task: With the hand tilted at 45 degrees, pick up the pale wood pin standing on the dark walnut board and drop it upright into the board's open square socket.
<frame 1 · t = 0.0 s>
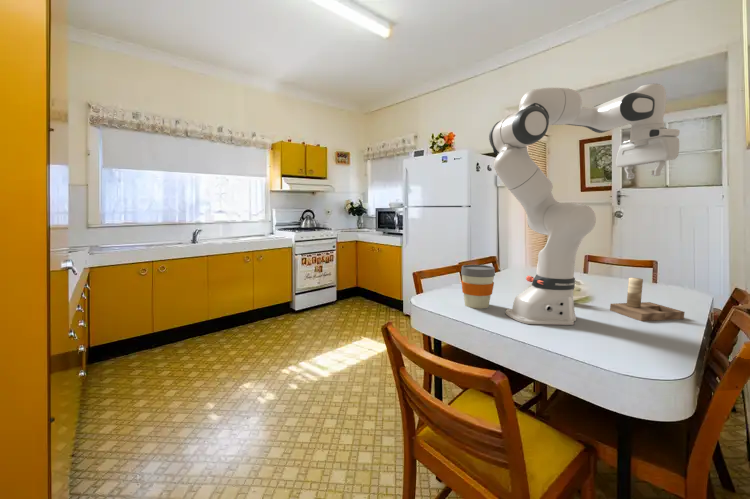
hand: (642, 177, 116), 48 cm above the table, tool pointing down, fingers open, 8 cm apart
reusable coffee cup: (476, 305, 131), on the table
pin: (633, 306, 121), point 2 cm above the table, touching pin board
pin board: (659, 315, 118), on the table
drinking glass: (544, 299, 140), on the table
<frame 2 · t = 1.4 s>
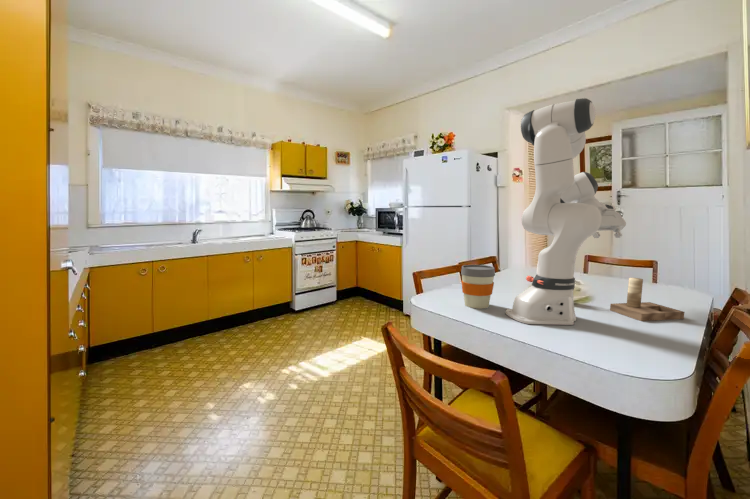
hand: (608, 236, 131), 26 cm above the table, tool tilted 45°, fingers open, 8 cm apart
nothing on the table moved.
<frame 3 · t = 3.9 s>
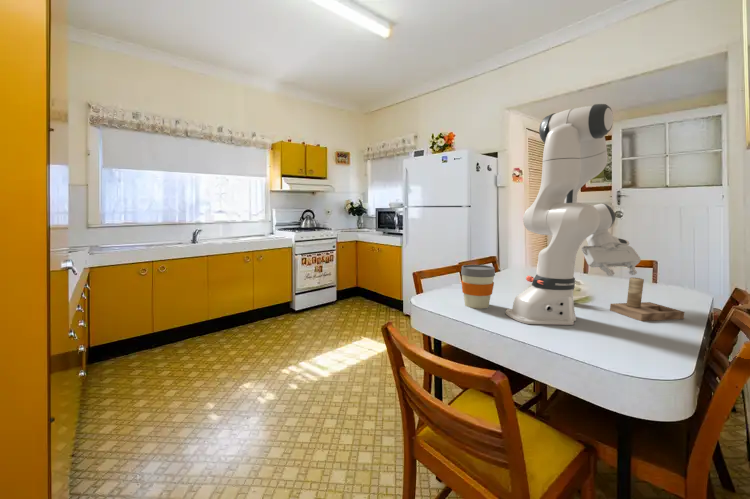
hand: (622, 274, 125), 13 cm above the table, tool tilted 45°, fingers open, 8 cm apart
nothing on the table moved.
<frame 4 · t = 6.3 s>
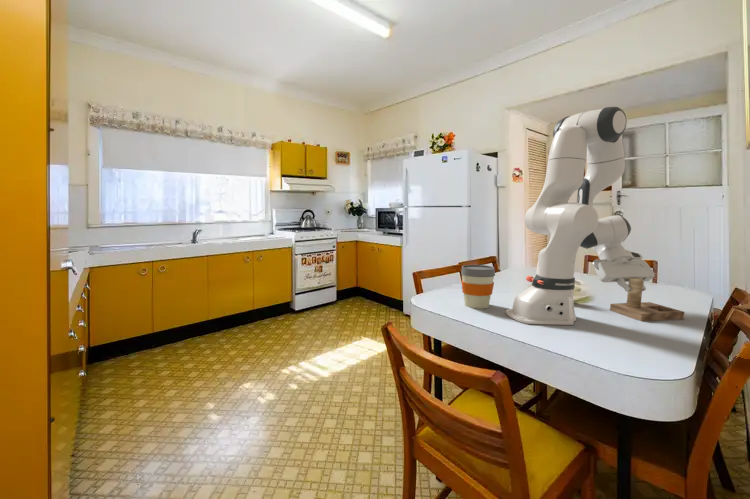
hand: (636, 290, 119), 8 cm above the table, tool tilted 45°, fingers closed on pin, 4 cm apart
pin: (633, 306, 121), point 3 cm above the table, touching gripper, pin board
everything else where it was.
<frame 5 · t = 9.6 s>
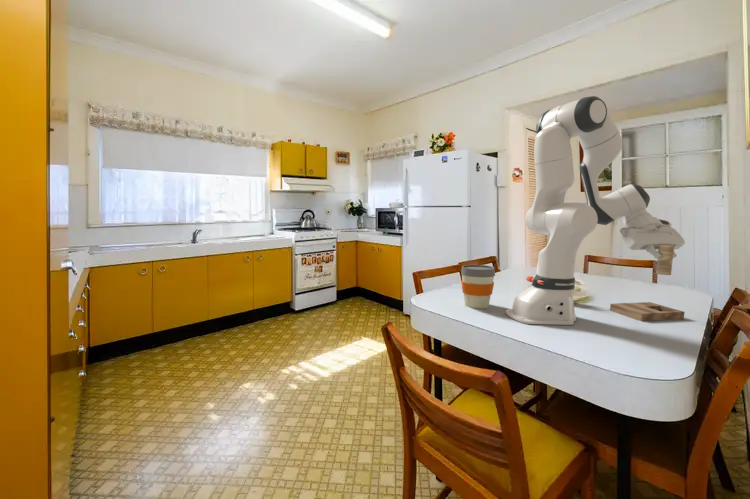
hand: (666, 257, 115), 21 cm above the table, tool tilted 45°, fingers closed on pin, 4 cm apart
pin: (663, 273, 116), point 15 cm above the table, touching gripper
everything else where it was.
when the fingers open (7 cm above the table, at t = 12.8 s): pin drops 1 cm, resting in pin board.
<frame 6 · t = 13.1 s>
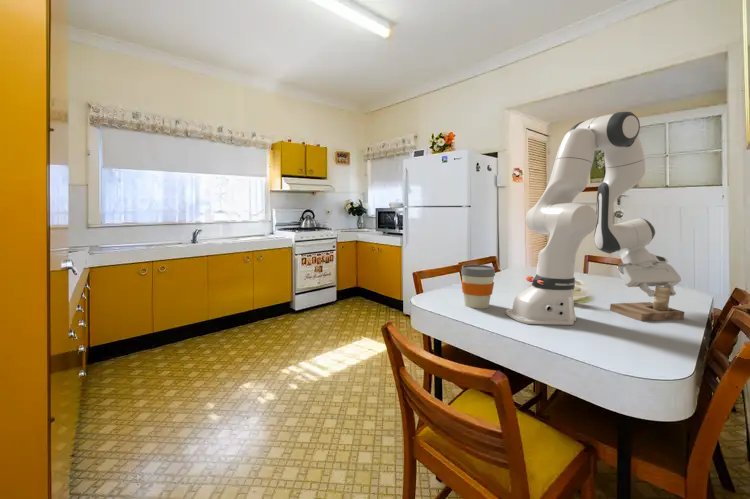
hand: (663, 295, 117), 7 cm above the table, tool tilted 45°, fingers open, 6 cm apart
pin: (659, 315, 118), resting in pin board
everything else where it was.
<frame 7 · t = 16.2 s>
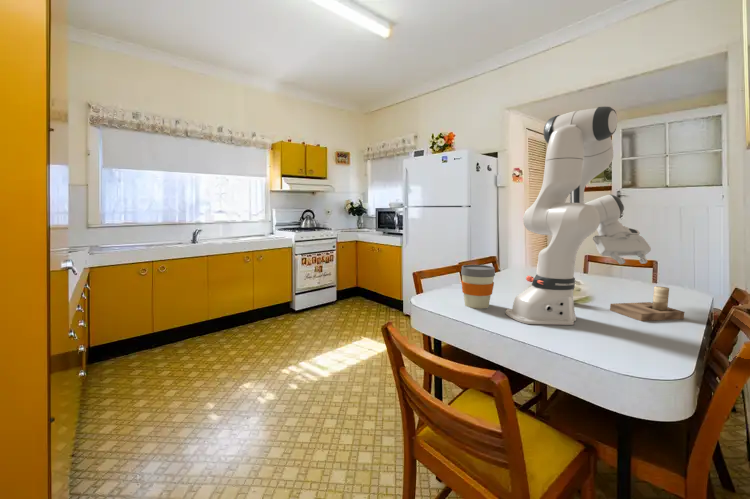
hand: (633, 263, 128), 17 cm above the table, tool tilted 45°, fingers open, 8 cm apart
nothing on the table moved.
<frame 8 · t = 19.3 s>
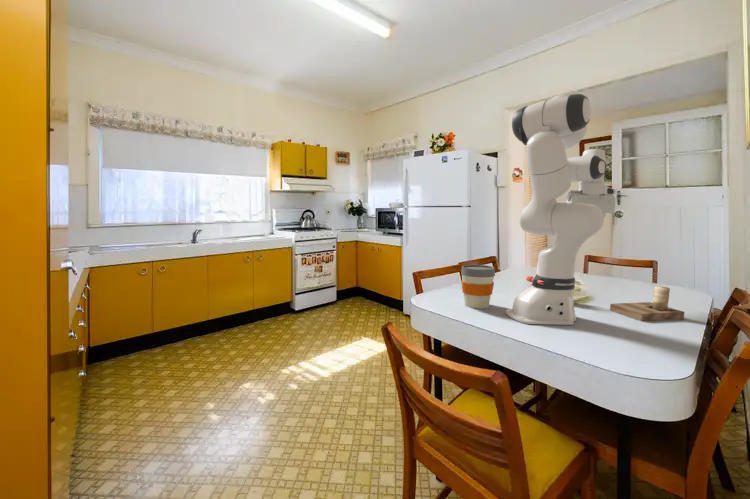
hand: (588, 224, 139), 31 cm above the table, tool pointing down, fingers open, 8 cm apart
nothing on the table moved.
at the end: pin 0.1 cm off-centre on the pin board, point 0.0 cm above the pin board's base; pin tilted 1°; the gripper is holding nothing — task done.
